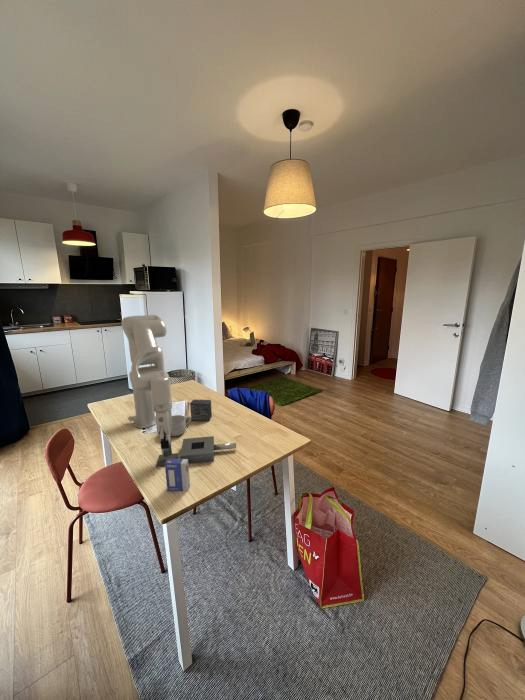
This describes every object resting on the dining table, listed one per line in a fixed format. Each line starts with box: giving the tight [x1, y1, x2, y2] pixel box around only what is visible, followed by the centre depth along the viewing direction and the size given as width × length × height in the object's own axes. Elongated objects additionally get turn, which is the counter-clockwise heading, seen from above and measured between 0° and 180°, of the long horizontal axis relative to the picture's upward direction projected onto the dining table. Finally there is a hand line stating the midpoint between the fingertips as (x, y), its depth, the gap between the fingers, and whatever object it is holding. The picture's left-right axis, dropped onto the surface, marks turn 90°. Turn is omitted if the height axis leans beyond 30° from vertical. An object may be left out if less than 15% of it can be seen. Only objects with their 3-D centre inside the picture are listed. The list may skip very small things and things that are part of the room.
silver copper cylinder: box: [161, 432, 173, 457], centre depth 122 cm, size 4×4×12 cm
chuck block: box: [179, 435, 237, 465], centre depth 130 cm, size 24×14×4 cm, turn 99°
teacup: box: [170, 414, 191, 437], centre depth 147 cm, size 14×11×8 cm
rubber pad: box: [155, 452, 179, 468], centre depth 125 cm, size 8×8×1 cm
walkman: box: [164, 458, 191, 492], centre depth 106 cm, size 8×3×12 cm, turn 89°
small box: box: [189, 399, 213, 422], centre depth 162 cm, size 11×6×10 cm, turn 84°
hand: (166, 445), depth 123 cm, fingers closed on silver copper cylinder, 4 cm apart
